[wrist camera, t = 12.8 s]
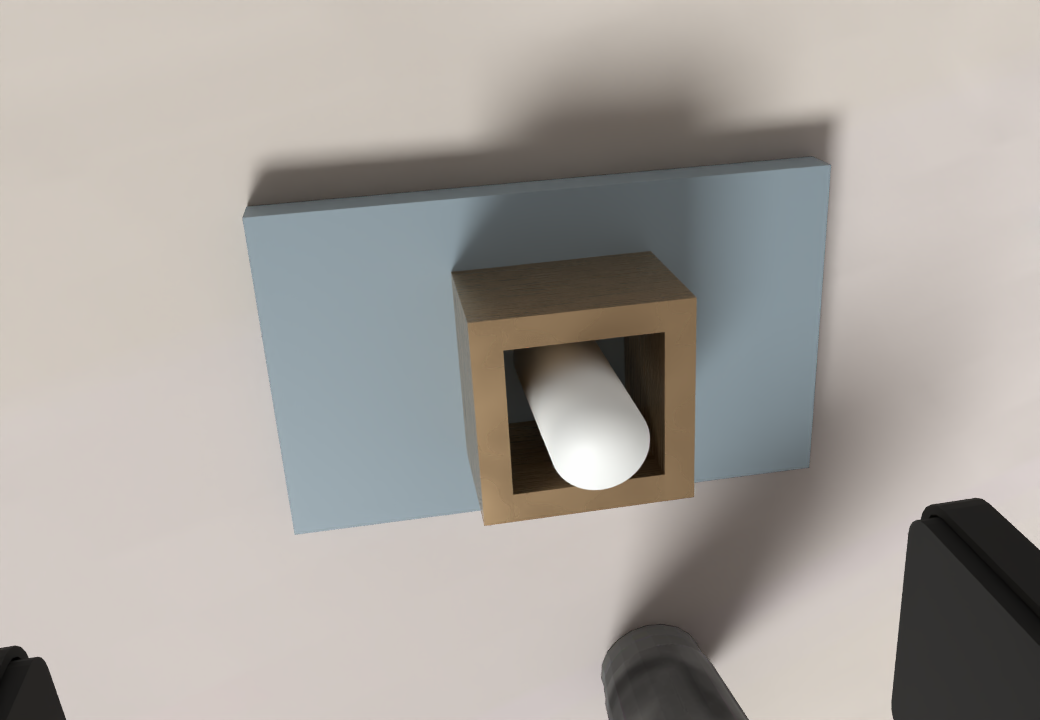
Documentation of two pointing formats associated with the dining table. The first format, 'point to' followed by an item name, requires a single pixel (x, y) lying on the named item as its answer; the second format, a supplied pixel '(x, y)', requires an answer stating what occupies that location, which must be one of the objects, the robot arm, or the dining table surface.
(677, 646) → the beverage cup
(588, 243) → the post board
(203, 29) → the dining table surface
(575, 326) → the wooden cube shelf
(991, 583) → the robot arm
